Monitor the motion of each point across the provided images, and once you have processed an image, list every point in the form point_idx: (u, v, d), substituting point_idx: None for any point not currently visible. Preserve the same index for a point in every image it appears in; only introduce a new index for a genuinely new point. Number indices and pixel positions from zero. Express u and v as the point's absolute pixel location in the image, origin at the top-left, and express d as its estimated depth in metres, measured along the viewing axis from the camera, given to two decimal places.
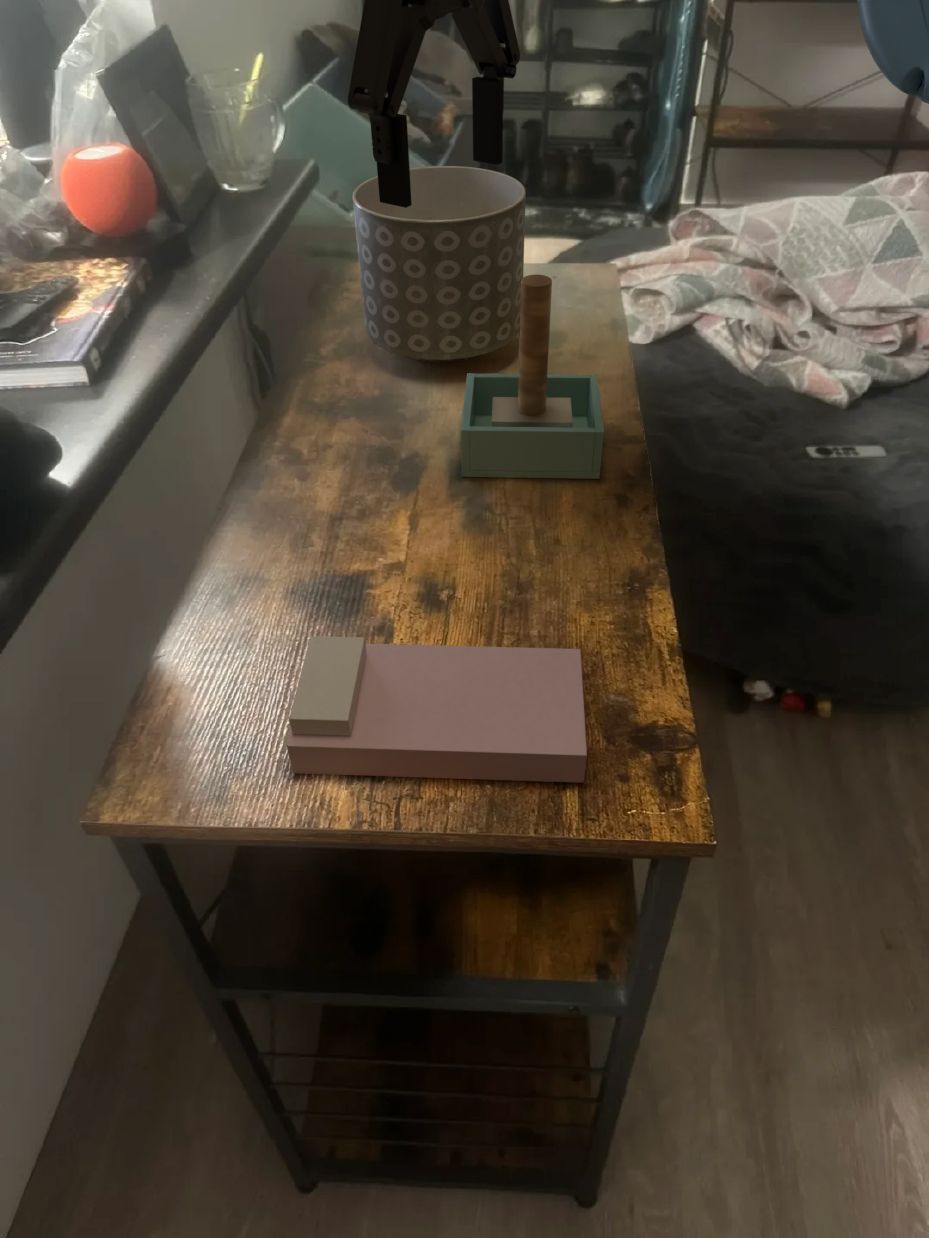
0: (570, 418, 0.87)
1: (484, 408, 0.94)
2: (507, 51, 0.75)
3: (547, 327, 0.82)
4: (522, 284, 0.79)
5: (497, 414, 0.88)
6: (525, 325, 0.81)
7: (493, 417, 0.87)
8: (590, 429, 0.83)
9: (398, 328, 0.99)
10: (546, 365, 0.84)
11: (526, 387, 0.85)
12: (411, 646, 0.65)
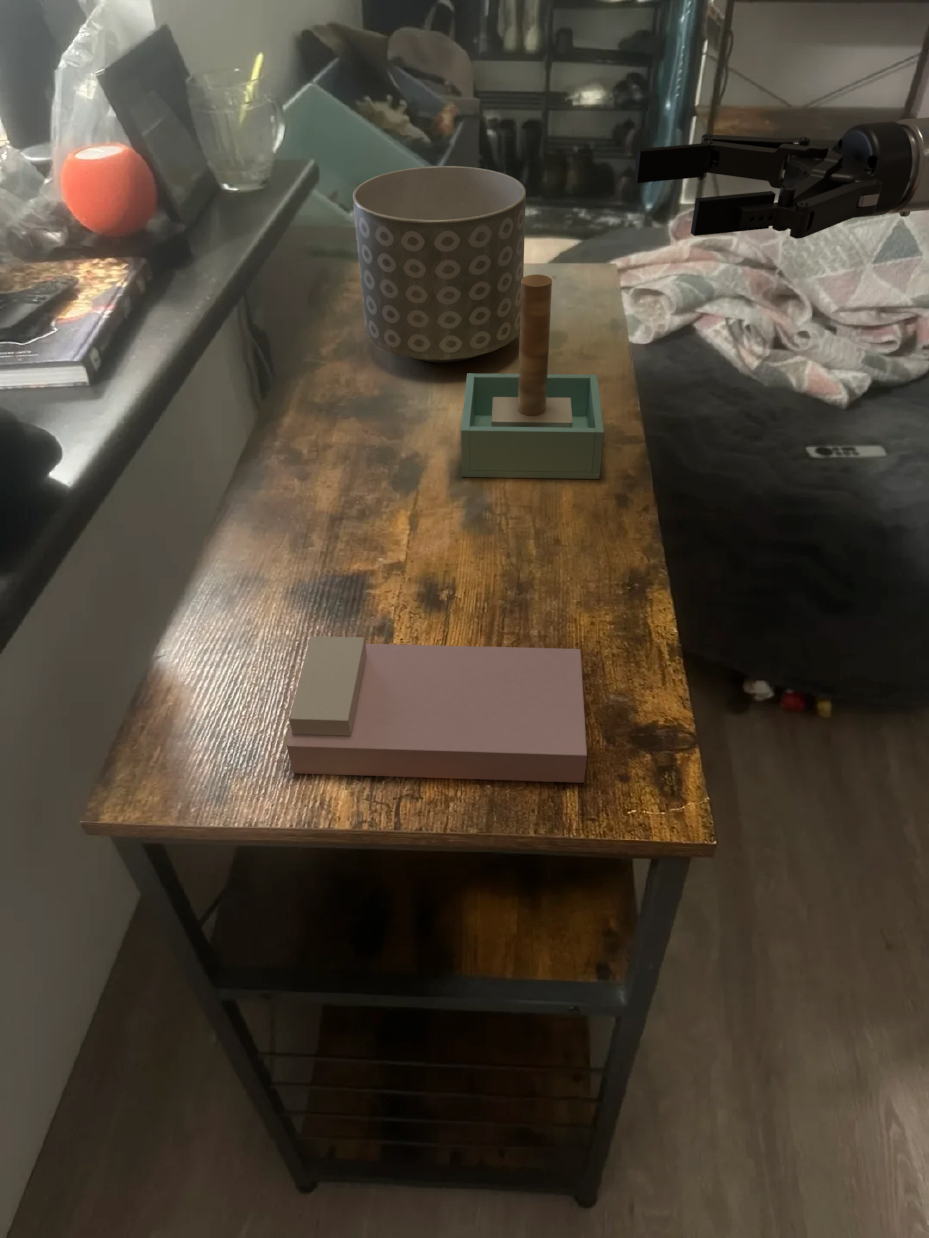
0: (570, 418, 0.87)
1: (484, 408, 0.94)
2: None
3: (547, 327, 0.82)
4: (522, 284, 0.79)
5: (497, 414, 0.88)
6: (525, 325, 0.81)
7: (493, 417, 0.87)
8: (590, 429, 0.83)
9: (398, 328, 0.99)
10: (546, 365, 0.84)
11: (526, 387, 0.85)
12: (411, 646, 0.65)
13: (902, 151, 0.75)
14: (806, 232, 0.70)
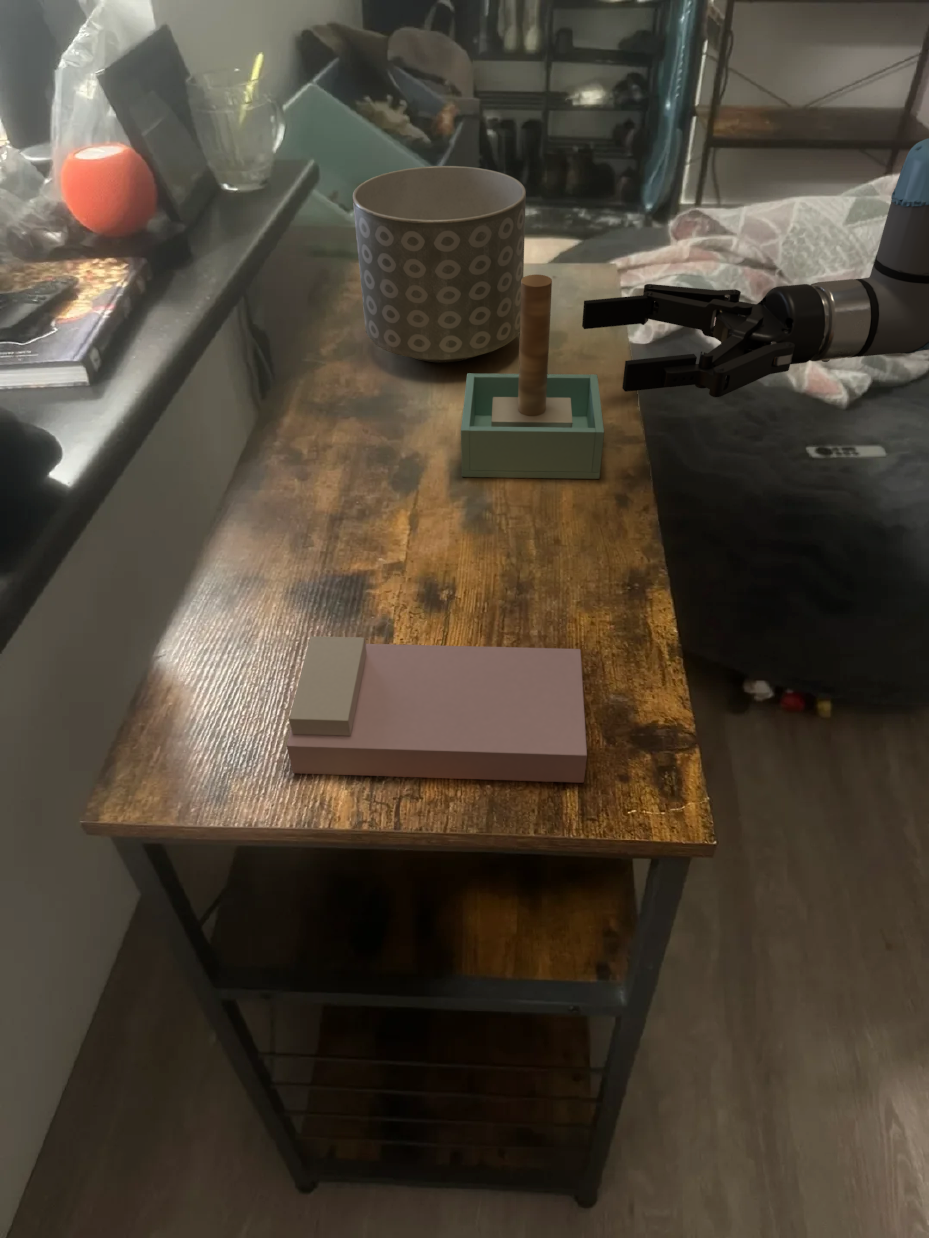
0: (570, 418, 0.87)
1: (484, 408, 0.94)
2: None
3: (547, 327, 0.82)
4: (522, 284, 0.79)
5: (497, 414, 0.88)
6: (525, 325, 0.81)
7: (493, 417, 0.87)
8: (590, 429, 0.83)
9: (398, 328, 0.99)
10: (546, 365, 0.84)
11: (526, 387, 0.85)
12: (411, 646, 0.65)
13: (815, 314, 0.84)
14: (723, 392, 0.79)
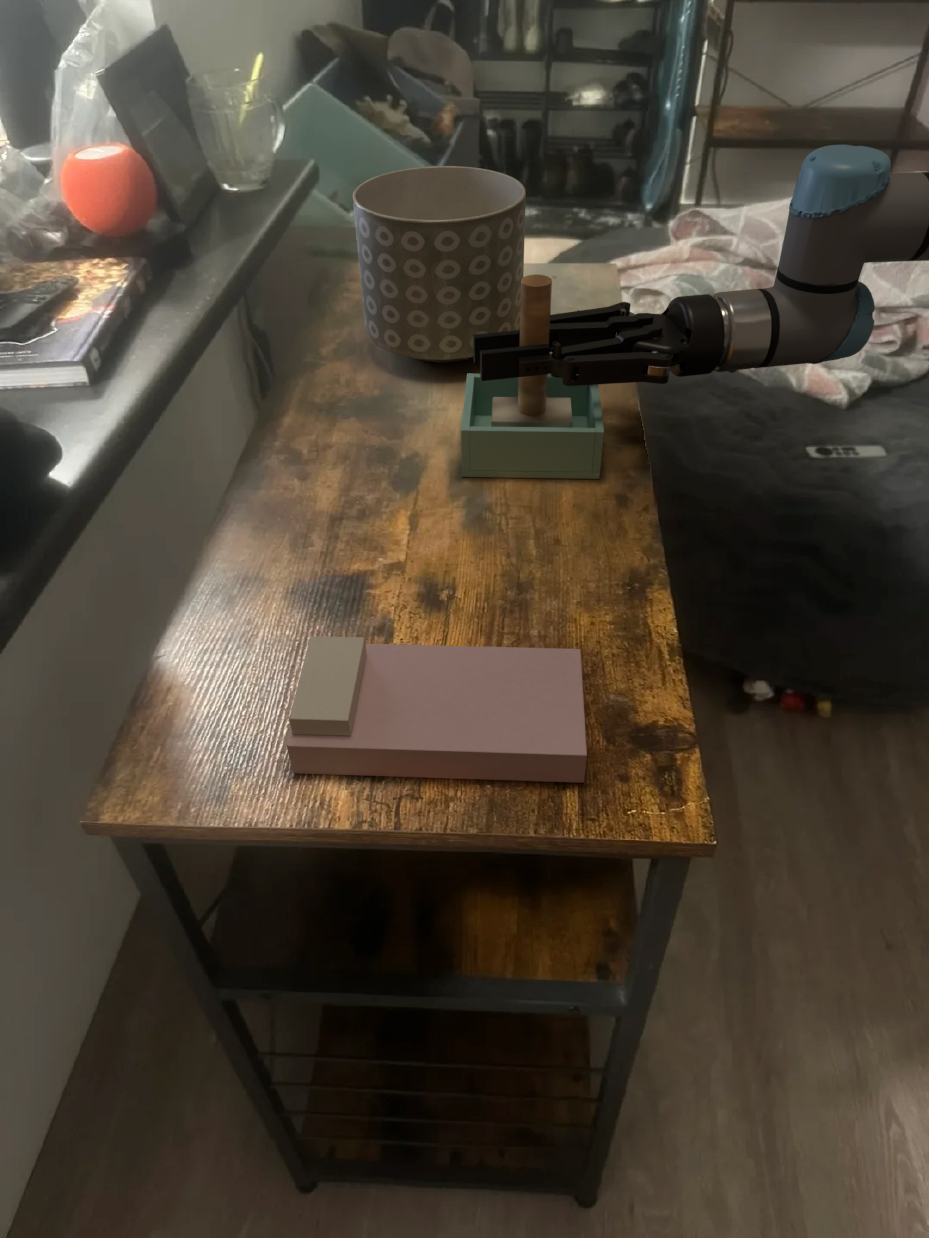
0: (570, 418, 0.87)
1: (484, 408, 0.94)
2: None
3: (547, 327, 0.82)
4: (522, 284, 0.79)
5: (497, 414, 0.88)
6: (525, 325, 0.81)
7: (493, 417, 0.87)
8: (590, 429, 0.83)
9: (398, 328, 0.99)
10: None
11: (526, 387, 0.85)
12: (411, 646, 0.65)
13: (714, 324, 0.83)
14: (573, 382, 0.81)
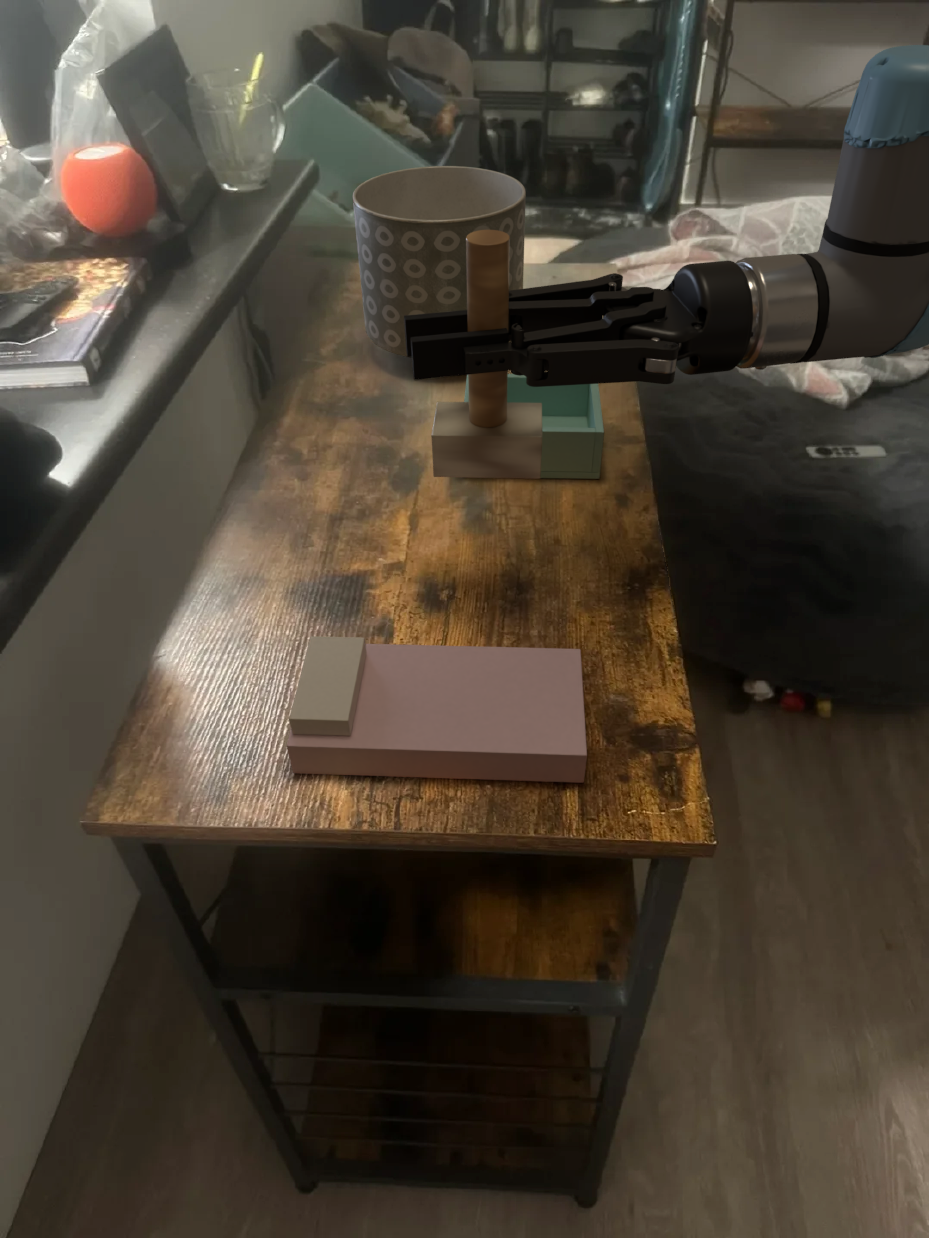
0: (539, 431, 0.63)
1: None
2: None
3: (504, 304, 0.58)
4: (467, 242, 0.56)
5: (440, 425, 0.64)
6: (474, 302, 0.58)
7: (434, 429, 0.64)
8: (590, 429, 0.83)
9: (398, 328, 0.99)
10: None
11: (479, 388, 0.62)
12: (411, 646, 0.65)
13: (739, 301, 0.59)
14: (540, 381, 0.58)
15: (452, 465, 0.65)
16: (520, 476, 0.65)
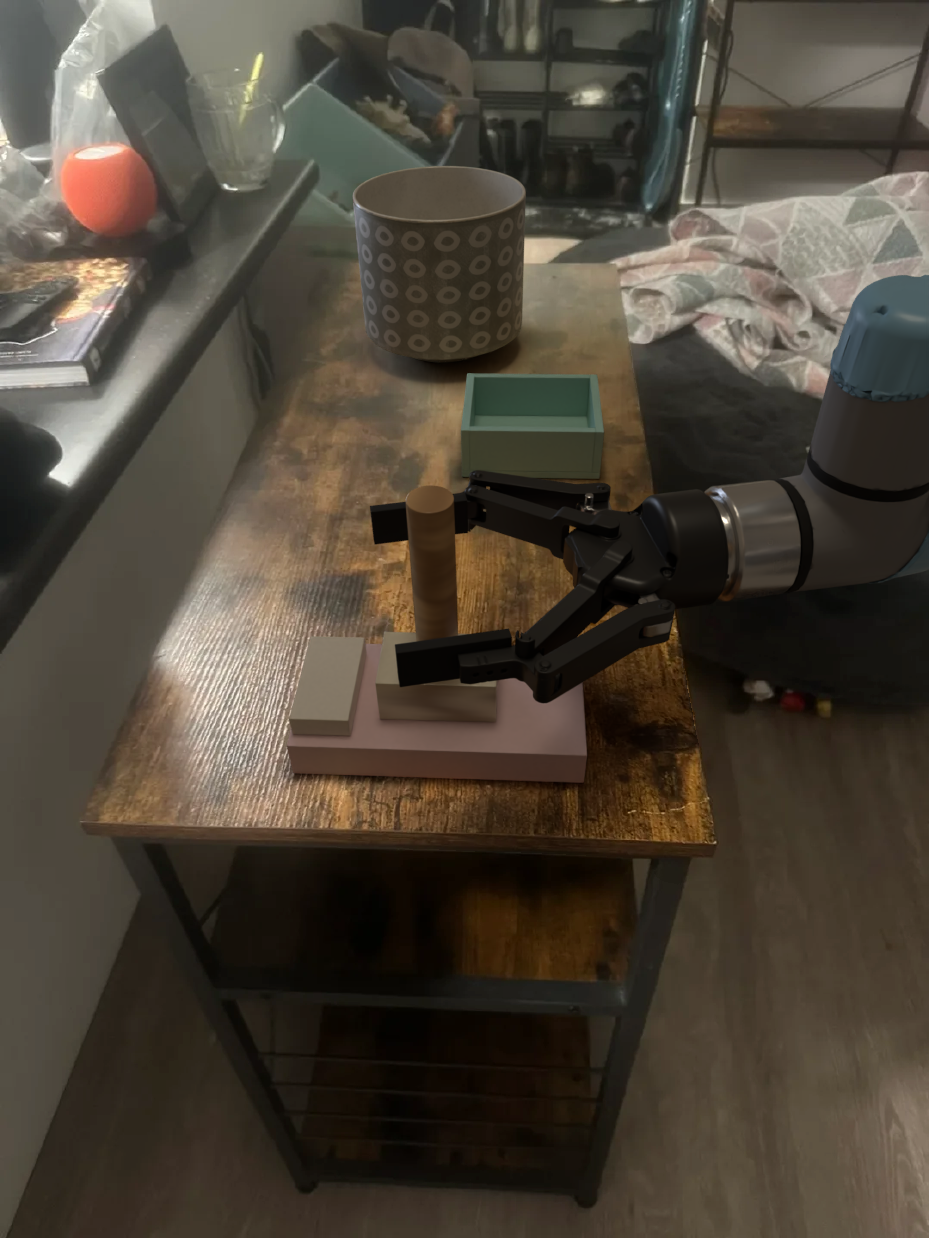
0: None
1: (484, 408, 0.94)
2: None
3: (451, 562, 0.53)
4: (406, 506, 0.50)
5: (386, 668, 0.59)
6: (416, 561, 0.52)
7: (379, 674, 0.58)
8: (590, 429, 0.83)
9: (398, 328, 0.99)
10: (454, 608, 0.56)
11: (425, 637, 0.56)
12: None
13: (713, 547, 0.53)
14: (554, 695, 0.49)
15: (399, 709, 0.59)
16: (474, 720, 0.60)
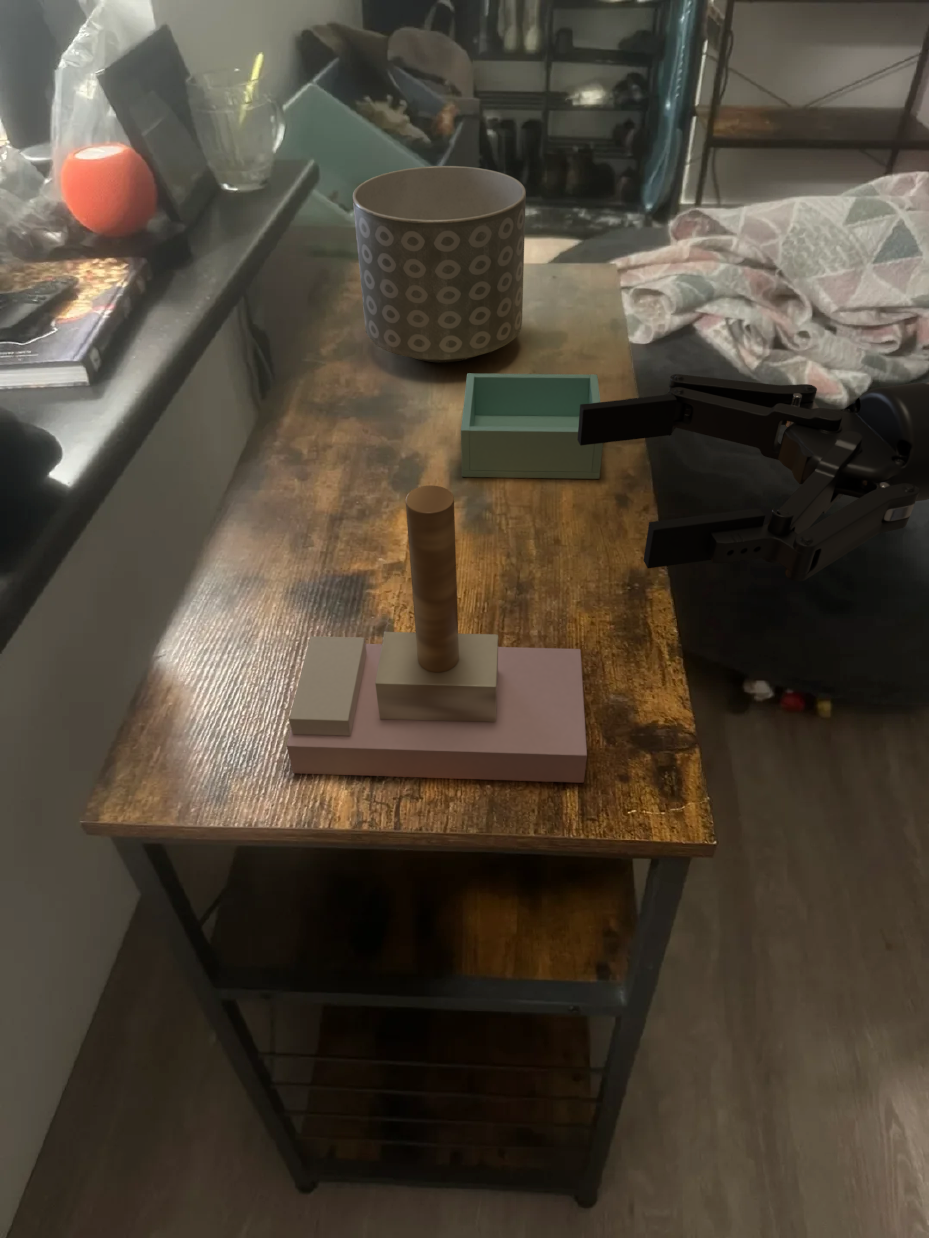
0: (493, 678, 0.58)
1: (484, 408, 0.94)
2: None
3: (451, 562, 0.53)
4: (406, 506, 0.50)
5: (386, 668, 0.59)
6: (416, 561, 0.52)
7: (379, 674, 0.58)
8: None
9: (398, 328, 0.99)
10: (454, 608, 0.56)
11: (425, 637, 0.56)
12: None
13: None
14: (809, 572, 0.49)
15: (399, 709, 0.59)
16: (474, 720, 0.60)
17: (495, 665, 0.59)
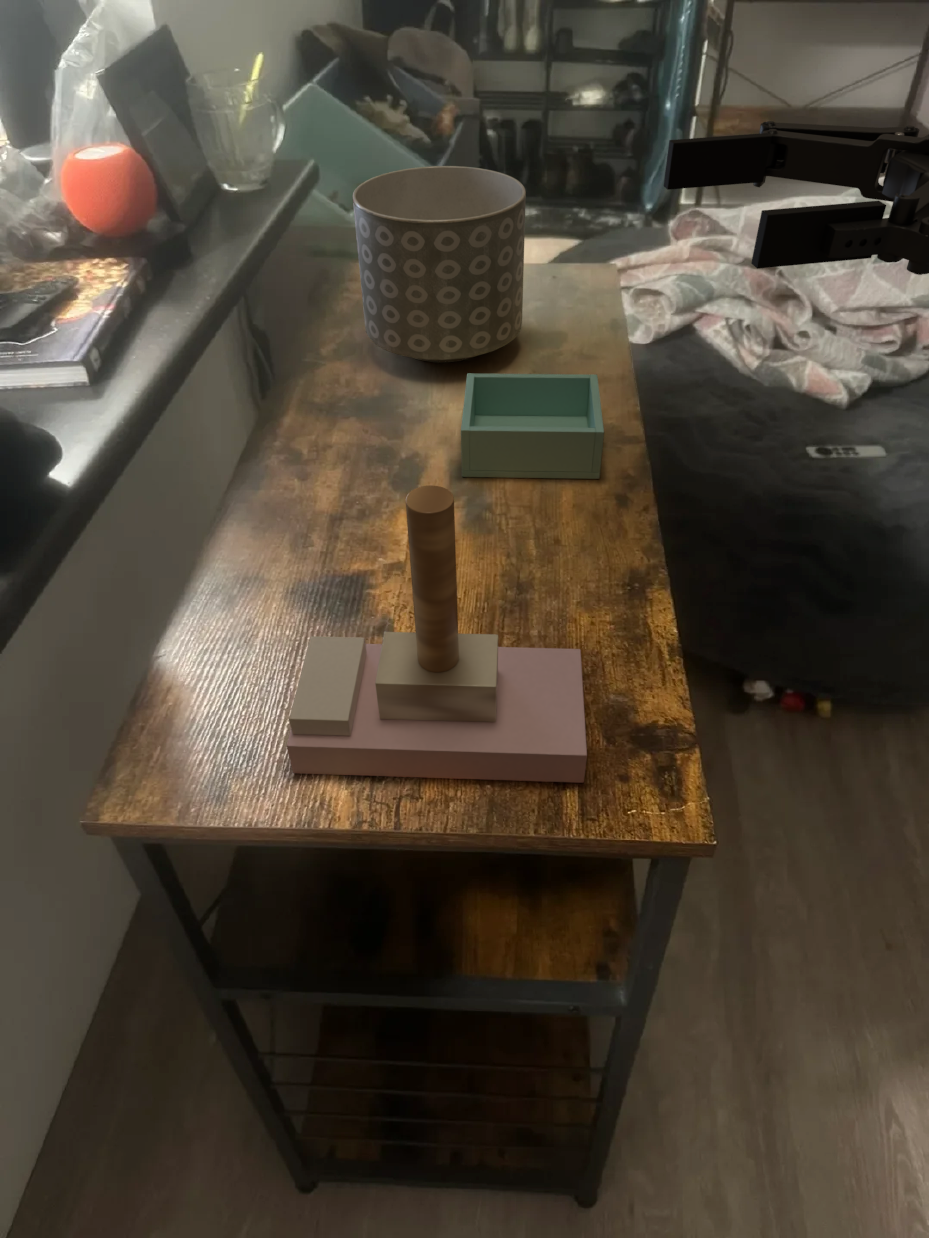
0: (493, 678, 0.58)
1: (484, 408, 0.94)
2: None
3: (451, 562, 0.53)
4: (406, 506, 0.50)
5: (386, 668, 0.59)
6: (416, 561, 0.52)
7: (379, 674, 0.58)
8: (590, 429, 0.83)
9: (398, 328, 0.99)
10: (454, 608, 0.56)
11: (425, 637, 0.56)
12: None
13: None
14: None
15: (399, 709, 0.59)
16: (474, 720, 0.60)
17: (495, 665, 0.59)
